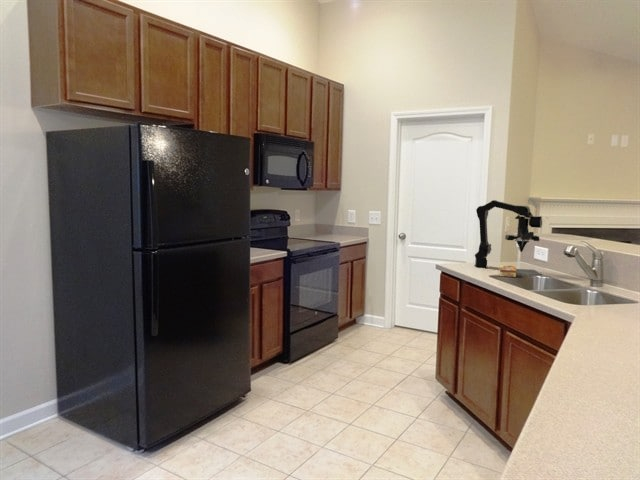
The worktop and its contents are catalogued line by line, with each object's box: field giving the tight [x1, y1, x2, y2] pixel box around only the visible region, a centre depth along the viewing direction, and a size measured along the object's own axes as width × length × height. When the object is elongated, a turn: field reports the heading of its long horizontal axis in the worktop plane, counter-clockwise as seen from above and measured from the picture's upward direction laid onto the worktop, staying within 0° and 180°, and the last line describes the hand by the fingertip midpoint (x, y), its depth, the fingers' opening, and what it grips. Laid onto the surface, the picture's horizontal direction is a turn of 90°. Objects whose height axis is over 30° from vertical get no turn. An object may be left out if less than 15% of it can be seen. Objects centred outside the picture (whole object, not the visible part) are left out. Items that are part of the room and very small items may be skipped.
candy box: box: [499, 264, 517, 278], centre depth 283 cm, size 9×4×15 cm
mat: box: [516, 268, 543, 276], centre depth 291 cm, size 16×15×1 cm
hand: (521, 251), depth 289 cm, fingers closed
